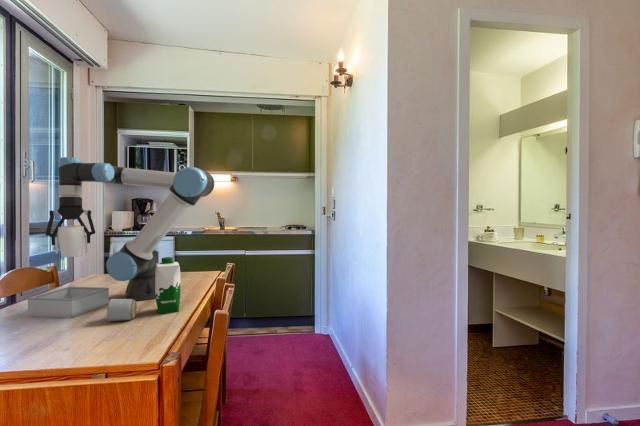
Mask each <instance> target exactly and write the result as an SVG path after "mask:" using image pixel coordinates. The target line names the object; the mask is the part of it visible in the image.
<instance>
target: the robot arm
mask: <svg viewBox="0 0 640 426" xmlns="http://www.w3.org/2000/svg"><path fill="white" fill-rule="evenodd" d="M82 161H83V160H82V159H81V158H79V157H68V156H67V157H66V156H62V157H60V158H59V159H58V167H57V170H58V195H59V197H58V205H59V207H58V209H57V210H54V209H53V210H49V211H48V212H49V219H48V223H47V227H46V230H45V236H48V237H50V238H51V246H54V247H55V248H54V250H55V251H54V254H57V255H58V254H59V241H58V236H57V232H58V227H61V226H63V224H64V222H65V220H67V221H68V220H77V222H78V224H79V226H84V231H85V234H86V235H85V236H84V253H87V252H88V244H90V243H91V235H95V234H96V230H95V226H94V223H93V219H92V210H90V209H87V210H86V209H84V208H83V197H82V196H83V182H84V183H85V182H86V183H87V182H88V183H89V182H90V183H91V182H93V183H94V182H95V183H105V184H114V185H125V186H133V187H134V186H136V187H142V188H143V187H144V188H145V187H146V188H154V189H163V190H168V191H169V195H167V197H166V198H165V199H164V201H163V202H162V203H161V205H159V207H158V208H157V210H156V211H154V214H152V216H151V217H150V218H149V219H148V220H147V222H146V224H145V225H143V227H142V229H140V231H139V232H138V233H137V234H136V235H135V237H134V238H133V240H128V241H126V242H125V243H124V244H123V245H122V247H121V248H120V249H119V251H117V252H114V253H113V254H111V255H110V256H109V257H108V259H107V260H106V267H105V268H106V269H107V270H106V271H107V273H108V274H109V276H110V277H111V278H112V279H114V280H116V281H119V282H127V281H128V282H127V286H126V290H125V291H124V292H125V293H124V299H134V300H135V301H147V300H153V299H156V296H155V276H156V275H155V270H156V264H157V263H160V262H159V261H160V259H159V257H160V256H159V255H160V251H159V247H158V245H160V243H161V241H163V239H164V238H165V237H166V235H167V234H168V233H169V232H170V230H171V229H172V228H173V227H174V225H175V224H176V223H177V222H178V220H179V219H180V218H181V216H183V214H184V213H185V212H186V210H187V209H188V208H189V207H195V205H196V204H197V203H198V202H199V200H200V199H201V198H204V197H208V196H209V195H210V194H212V192H213V191H214V188H215V180H214V177H213V176H212V174H211V173H210V172H208V171H207V170H204V169H200V168H198V167H194V166H188V167H183V168H181V169H178V171H177V172H172V171H162V170H151V169H141V168H134V167H133V168H132V167H122V166H115V165H112V164H111V163H107V162H82ZM83 213H84V214H85V216H87V217H86V218H87V221H88V224H89V227H90V230H91V231H89V230H88V228H87V226H86V225H85V223H84V221H83V219H82V218H81V216H82V215H83ZM57 214H58V215H60V217H61V218H60V220H59V222H58V223H57V225H56V226H55V228H54V230H53V232H51V230H52V228H53V222H54V220H55V217H56V216H57Z"/></svg>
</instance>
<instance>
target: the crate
mask: <svg viewBox="0 0 640 426" xmlns="http://www.w3.org/2000/svg"><path fill="white" fill-rule="evenodd" d="M109 289H110V287H100V286H99V287H96V286H65V287H62V288H59V289H55V290H51V291H49V292H43V293H40V294H36V295H34V296H30V297H27V317H42V318H43V317H44V318H45V317H48V318H64V319H65V318H66V319H67V318H68V319H69V318H70V319H73V318H76V317H78V316H81V315H84V314H85V313H89V312H91V310H92V311H93V310H96V309H98V308H101V307H104V306H108V303H109V301H110V297H109V296H110V295H109V292H110V291H109Z"/></svg>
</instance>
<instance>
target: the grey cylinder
mask: <svg viewBox="0 0 640 426" xmlns="http://www.w3.org/2000/svg"><path fill="white" fill-rule="evenodd" d="M137 307H138V305H137V300H134V299H125V298H111V299H110V298H109V303H108V304H107V310H106V319H107V321H108V322H120V321H131V320H133V319H134V318H135V317H136V314H137Z"/></svg>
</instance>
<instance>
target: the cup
mask: <svg viewBox="0 0 640 426" xmlns="http://www.w3.org/2000/svg"><path fill="white" fill-rule="evenodd" d="M85 234H86V233H85V231H84V226H81V225H64V226H63V225H61V227H58V232H57V234H56V236H57V237H58V247H59V250H60V256H61V257H62V258H75V257H81V256H83V250H84V244H85V236H86V235H85Z"/></svg>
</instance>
